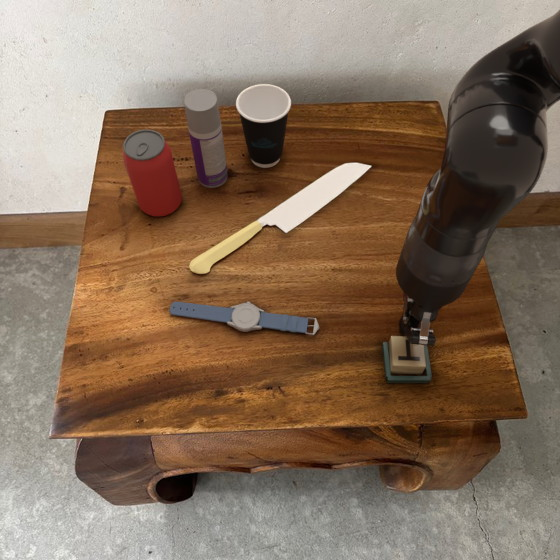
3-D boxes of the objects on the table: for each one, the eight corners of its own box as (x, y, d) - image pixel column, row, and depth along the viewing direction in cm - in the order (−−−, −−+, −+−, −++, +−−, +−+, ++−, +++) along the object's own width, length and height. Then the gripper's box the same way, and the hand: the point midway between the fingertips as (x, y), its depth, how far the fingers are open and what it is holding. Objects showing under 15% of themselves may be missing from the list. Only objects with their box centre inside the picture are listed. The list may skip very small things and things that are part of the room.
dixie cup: (272, 132, 91) (271, 76, 81) (300, 161, 87) (302, 106, 78) (231, 152, 88) (225, 97, 79) (258, 182, 85) (255, 128, 76)
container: (194, 170, 86) (178, 92, 74) (222, 162, 87) (212, 84, 75) (202, 191, 84) (188, 115, 71) (231, 183, 85) (222, 106, 72)
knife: (380, 171, 86) (360, 150, 87) (203, 284, 74) (183, 258, 76) (378, 176, 87) (358, 156, 88) (203, 288, 76) (183, 263, 77)
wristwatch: (317, 342, 71) (318, 339, 70) (166, 322, 72) (165, 318, 71) (321, 313, 73) (321, 310, 72) (174, 294, 74) (173, 291, 74)
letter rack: (381, 345, 71) (382, 341, 70) (425, 345, 70) (426, 341, 70) (385, 383, 68) (386, 380, 67) (430, 383, 68) (432, 380, 67)
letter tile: (387, 344, 71) (391, 335, 68) (418, 345, 70) (423, 336, 68) (389, 373, 68) (393, 365, 66) (421, 374, 68) (426, 366, 66)
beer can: (132, 214, 82) (110, 157, 72) (148, 181, 85) (129, 122, 75) (174, 222, 81) (158, 165, 71) (188, 189, 84) (175, 130, 74)
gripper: (483, 315, 51) (438, 382, 66) (474, 205, 58) (435, 288, 73) (402, 306, 52) (375, 374, 67) (403, 199, 59) (379, 282, 74)
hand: (407, 329), depth 70 cm, fingers closed
